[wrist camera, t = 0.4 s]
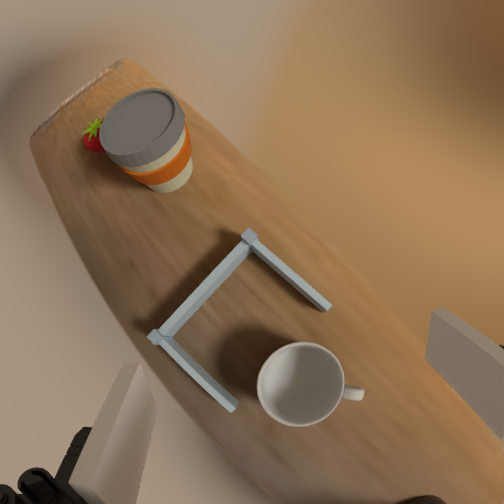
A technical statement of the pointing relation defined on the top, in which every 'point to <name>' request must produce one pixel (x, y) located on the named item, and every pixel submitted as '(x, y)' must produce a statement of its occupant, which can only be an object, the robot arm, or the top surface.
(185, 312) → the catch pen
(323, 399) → the teacup
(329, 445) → the top surface
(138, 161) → the reusable coffee cup
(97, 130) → the strawberry
